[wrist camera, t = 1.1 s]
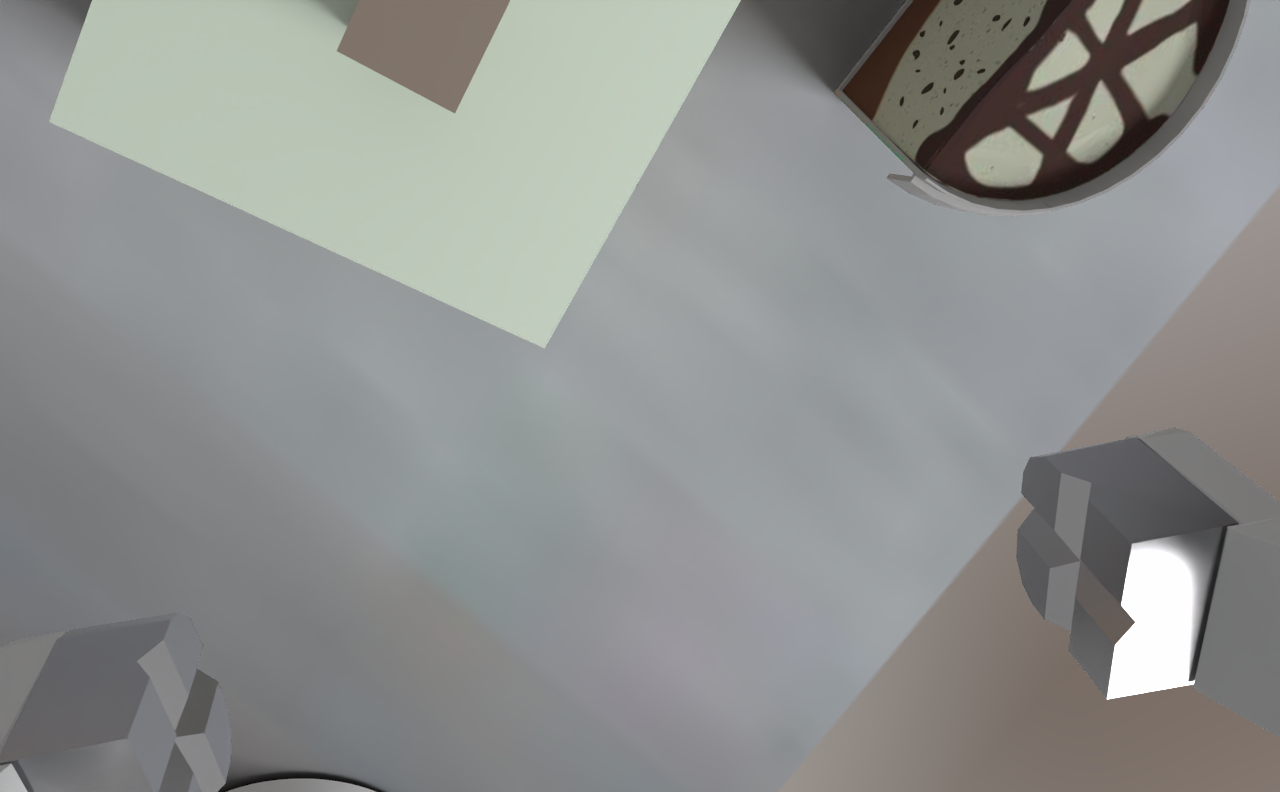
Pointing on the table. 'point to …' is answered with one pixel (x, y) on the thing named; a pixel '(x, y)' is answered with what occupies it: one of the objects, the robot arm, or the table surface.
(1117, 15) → the food container
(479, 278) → the lid
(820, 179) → the table surface
